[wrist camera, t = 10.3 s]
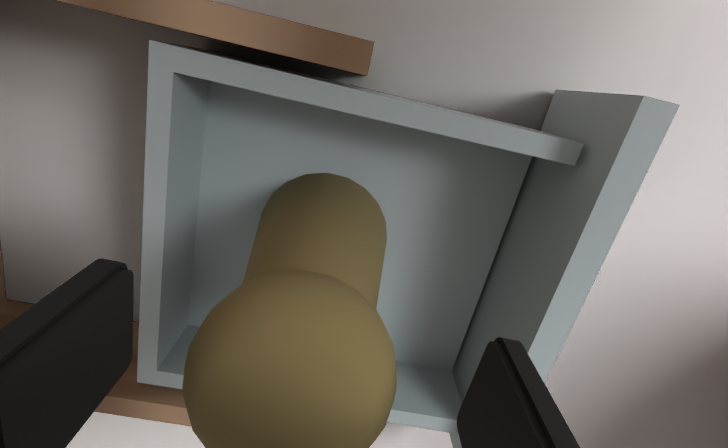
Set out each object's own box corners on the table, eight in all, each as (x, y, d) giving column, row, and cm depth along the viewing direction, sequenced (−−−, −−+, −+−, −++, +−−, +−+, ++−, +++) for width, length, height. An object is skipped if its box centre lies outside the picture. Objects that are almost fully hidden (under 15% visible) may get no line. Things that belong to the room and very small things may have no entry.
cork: (258, 167, 18) (117, 296, 7) (394, 177, 18) (444, 318, 7) (259, 286, 20) (150, 519, 9) (380, 294, 20) (405, 530, 10)
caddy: (369, 51, 17) (374, 42, 12) (302, 365, 23) (288, 441, 18) (-56, -55, 15) (-237, -112, 11) (-13, 312, 21) (-118, 379, 16)
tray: (601, 101, 18) (708, 112, 12) (475, 403, 23) (510, 499, 18) (202, 1, 16) (124, -37, 11) (175, 352, 22) (117, 441, 17)
